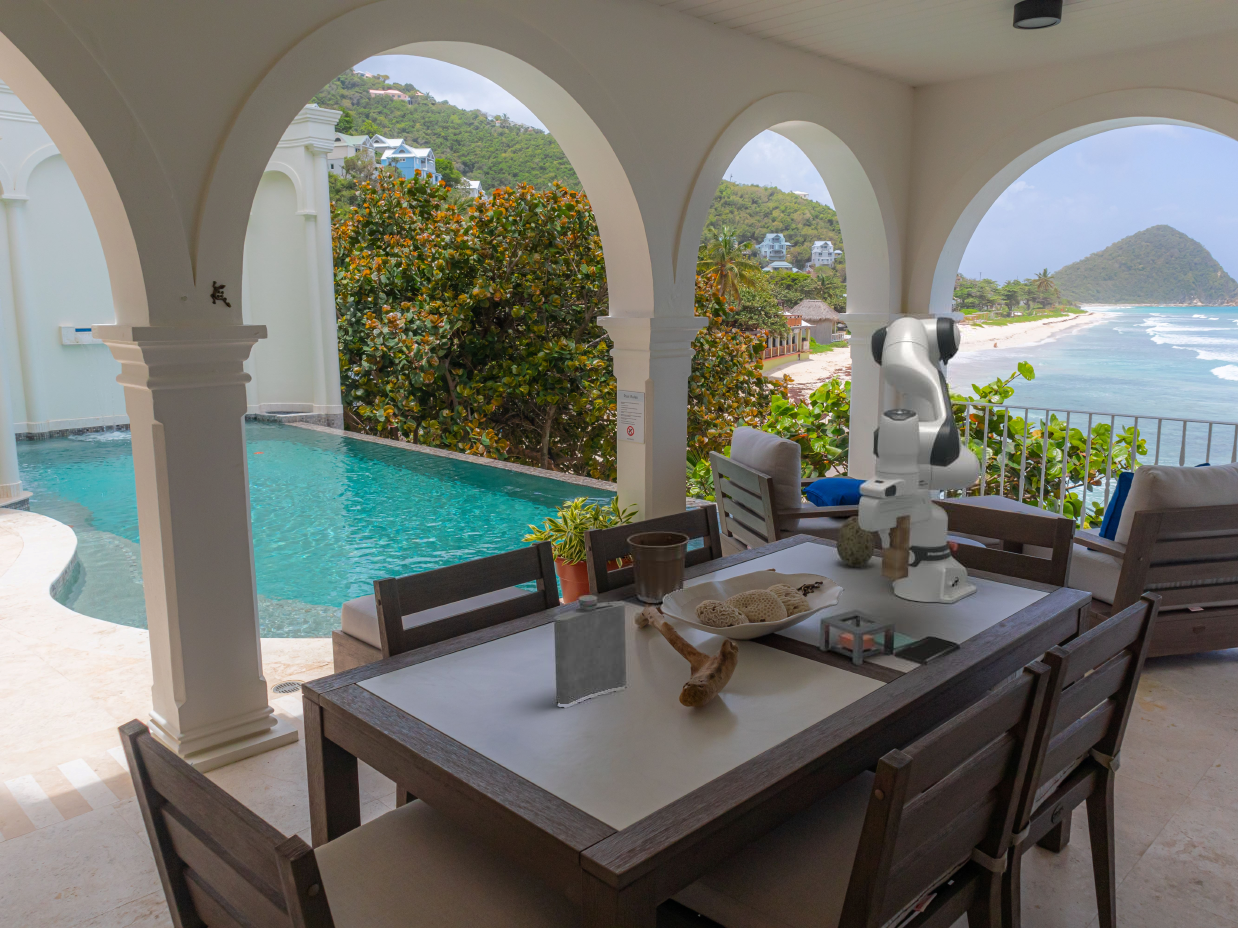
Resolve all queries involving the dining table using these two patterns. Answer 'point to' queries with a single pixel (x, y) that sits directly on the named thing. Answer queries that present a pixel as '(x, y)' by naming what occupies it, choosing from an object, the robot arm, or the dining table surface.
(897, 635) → the mat
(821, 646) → the frame
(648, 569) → the plant pot
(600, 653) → the hip flask
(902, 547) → the peg
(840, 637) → the salmon pink panel
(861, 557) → the decorative egg
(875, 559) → the dining table surface
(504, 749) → the dining table surface
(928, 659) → the phone
